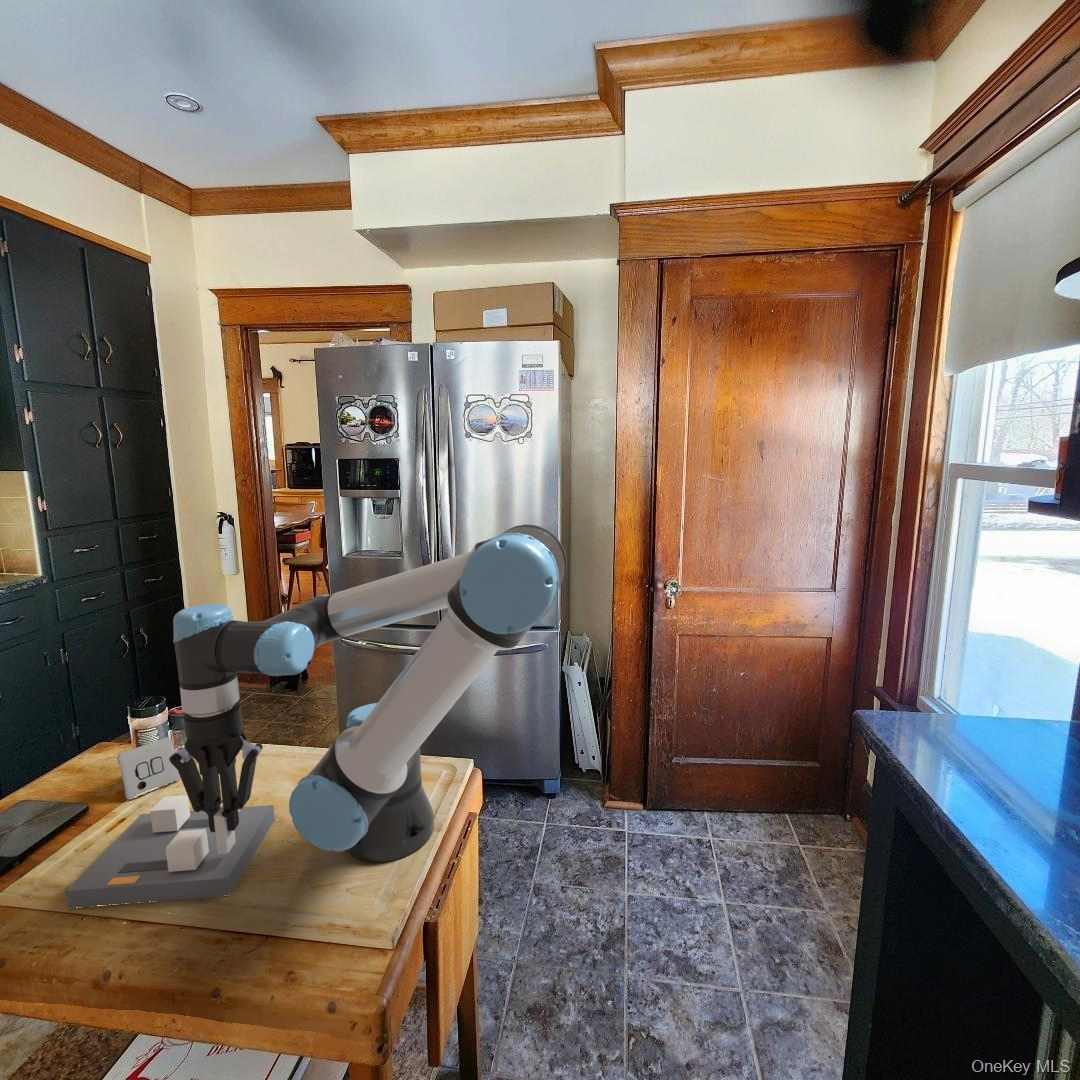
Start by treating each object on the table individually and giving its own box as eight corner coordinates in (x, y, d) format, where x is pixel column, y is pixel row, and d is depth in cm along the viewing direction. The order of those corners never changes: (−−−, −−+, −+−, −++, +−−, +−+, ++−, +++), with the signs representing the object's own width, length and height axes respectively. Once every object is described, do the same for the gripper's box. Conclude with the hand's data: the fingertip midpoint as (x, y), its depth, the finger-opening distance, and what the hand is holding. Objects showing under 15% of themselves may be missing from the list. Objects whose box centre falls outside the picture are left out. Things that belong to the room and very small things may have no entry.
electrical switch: (127, 803, 108) (120, 757, 107) (119, 796, 111) (112, 751, 111) (181, 781, 115) (174, 738, 115) (172, 775, 119) (166, 733, 118)
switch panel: (274, 819, 102) (273, 804, 101) (229, 895, 84) (227, 877, 84) (143, 829, 100) (141, 813, 100) (68, 909, 82) (65, 890, 82)
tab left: (208, 851, 89) (206, 828, 89) (195, 869, 85) (192, 846, 85) (182, 853, 89) (180, 830, 88) (168, 871, 85) (165, 848, 84)
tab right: (190, 815, 98) (187, 795, 98) (177, 830, 94) (174, 809, 94) (166, 817, 98) (163, 796, 97) (152, 832, 94) (150, 810, 93)
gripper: (266, 694, 88) (278, 829, 92) (180, 698, 87) (196, 834, 90) (245, 716, 81) (259, 862, 84) (151, 720, 80) (169, 868, 83)
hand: (226, 847), depth 87 cm, fingers closed
